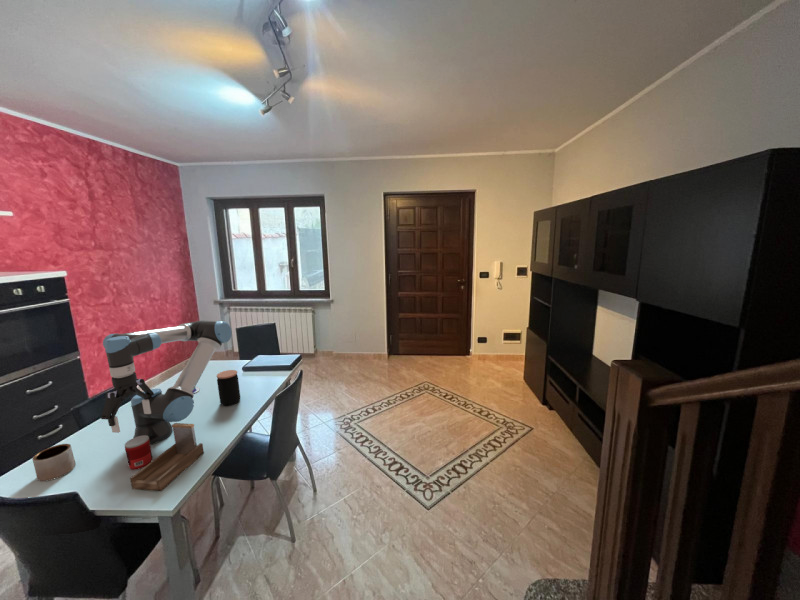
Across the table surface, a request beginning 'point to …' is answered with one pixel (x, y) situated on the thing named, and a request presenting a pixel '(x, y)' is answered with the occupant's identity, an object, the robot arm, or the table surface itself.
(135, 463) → the canned food
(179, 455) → the tray
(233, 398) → the coffee jar
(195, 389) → the pudding
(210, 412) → the table surface
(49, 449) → the planter
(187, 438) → the pusher
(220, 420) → the table surface
